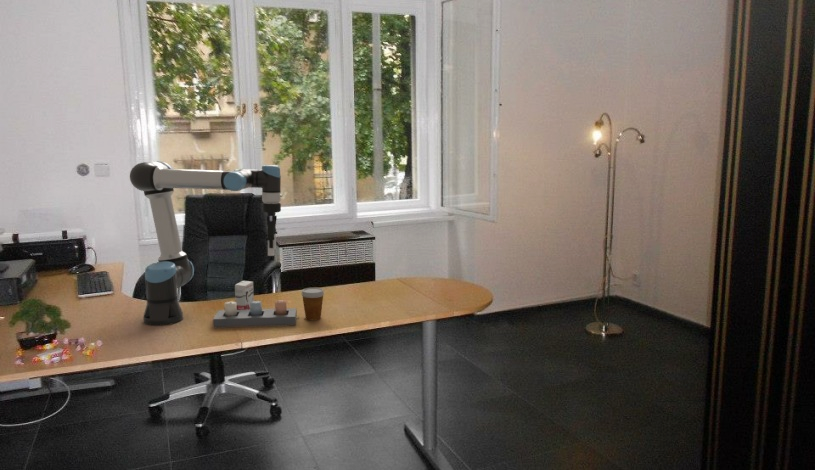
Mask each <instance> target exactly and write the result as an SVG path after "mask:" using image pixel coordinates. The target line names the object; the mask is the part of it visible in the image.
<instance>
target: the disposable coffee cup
mask: <svg viewBox="0 0 815 470" xmlns="http://www.w3.org/2000/svg"><path fill="white" fill-rule="evenodd" d="M324 295H325V291H324V289H323V288H320V287H307V288H303V289H302V290H301V296H302V301H303V310H304V315H305V317H304V318H305V319H306V320H309V321H317V320H320V319H321V317H322V310H323V309H322V308H323V301H324V300H323V299H324Z"/></svg>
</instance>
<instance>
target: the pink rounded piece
mask: <svg viewBox="0 0 815 470" xmlns="http://www.w3.org/2000/svg"><path fill="white" fill-rule="evenodd" d="M287 306H288V305H287V300H282V299H281V300H275V301H274V307H275V308H274V309H275V314H276V315H285V314H287Z"/></svg>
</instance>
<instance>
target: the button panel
mask: <svg viewBox="0 0 815 470" xmlns="http://www.w3.org/2000/svg"><path fill="white" fill-rule="evenodd" d="M297 309H298V308H296V307H292V308H290V307H289V308H287V314H285V315H276V314H275V308H262V315H259V316H252V315H250V309H249V310H237V315H236V316H229V317H227V316H225V309H223V310H217V312H216V314H215V315H214V317H213V319H212V325H213V328H214V329H216V328H243V327H250V328H251V327H273V326H274V327H276V326H296V321H297Z"/></svg>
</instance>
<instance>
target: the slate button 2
mask: <svg viewBox="0 0 815 470" xmlns="http://www.w3.org/2000/svg"><path fill="white" fill-rule="evenodd" d="M262 305H263V304H262V301H261V300H254V301H252V302H250V309H249V310H250V315H252V316H259V315H262V309H263V306H262Z"/></svg>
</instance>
